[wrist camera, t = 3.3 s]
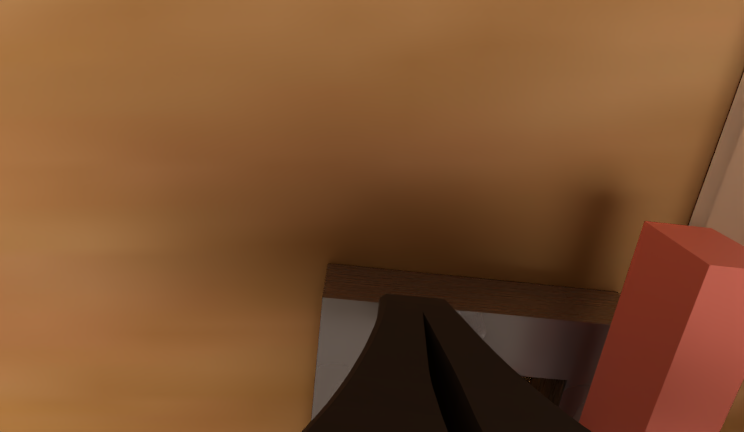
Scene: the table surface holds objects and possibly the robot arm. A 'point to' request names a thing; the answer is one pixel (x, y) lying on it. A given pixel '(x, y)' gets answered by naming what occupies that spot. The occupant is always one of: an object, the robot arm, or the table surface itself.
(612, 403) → the bar
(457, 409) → the robot arm
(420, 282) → the grey flat square ring
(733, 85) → the table surface
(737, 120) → the tray
